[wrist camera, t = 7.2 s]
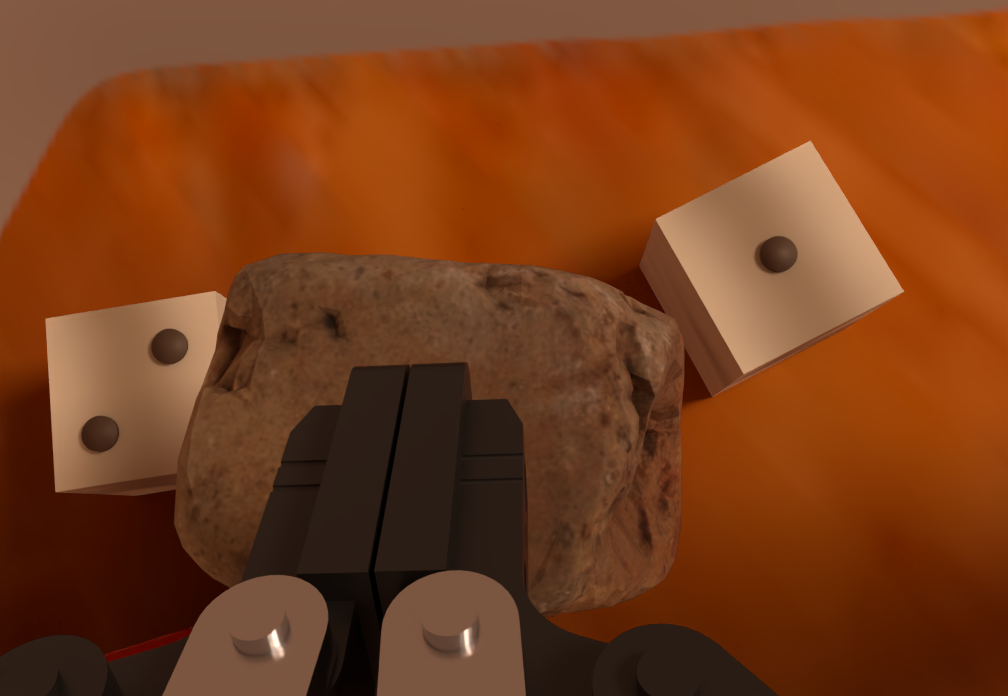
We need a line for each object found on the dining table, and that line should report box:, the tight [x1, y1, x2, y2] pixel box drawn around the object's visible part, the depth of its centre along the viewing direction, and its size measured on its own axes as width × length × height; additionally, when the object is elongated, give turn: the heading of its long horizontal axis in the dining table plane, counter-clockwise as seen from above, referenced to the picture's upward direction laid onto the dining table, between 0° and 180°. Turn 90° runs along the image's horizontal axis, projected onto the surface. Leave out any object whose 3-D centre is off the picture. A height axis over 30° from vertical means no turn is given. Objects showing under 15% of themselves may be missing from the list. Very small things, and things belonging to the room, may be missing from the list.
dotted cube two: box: [46, 291, 227, 496], centre depth 33 cm, size 6×6×6 cm
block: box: [174, 253, 684, 617], centre depth 25 cm, size 11×8×20 cm
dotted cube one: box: [639, 141, 904, 397], centre depth 33 cm, size 6×6×6 cm
